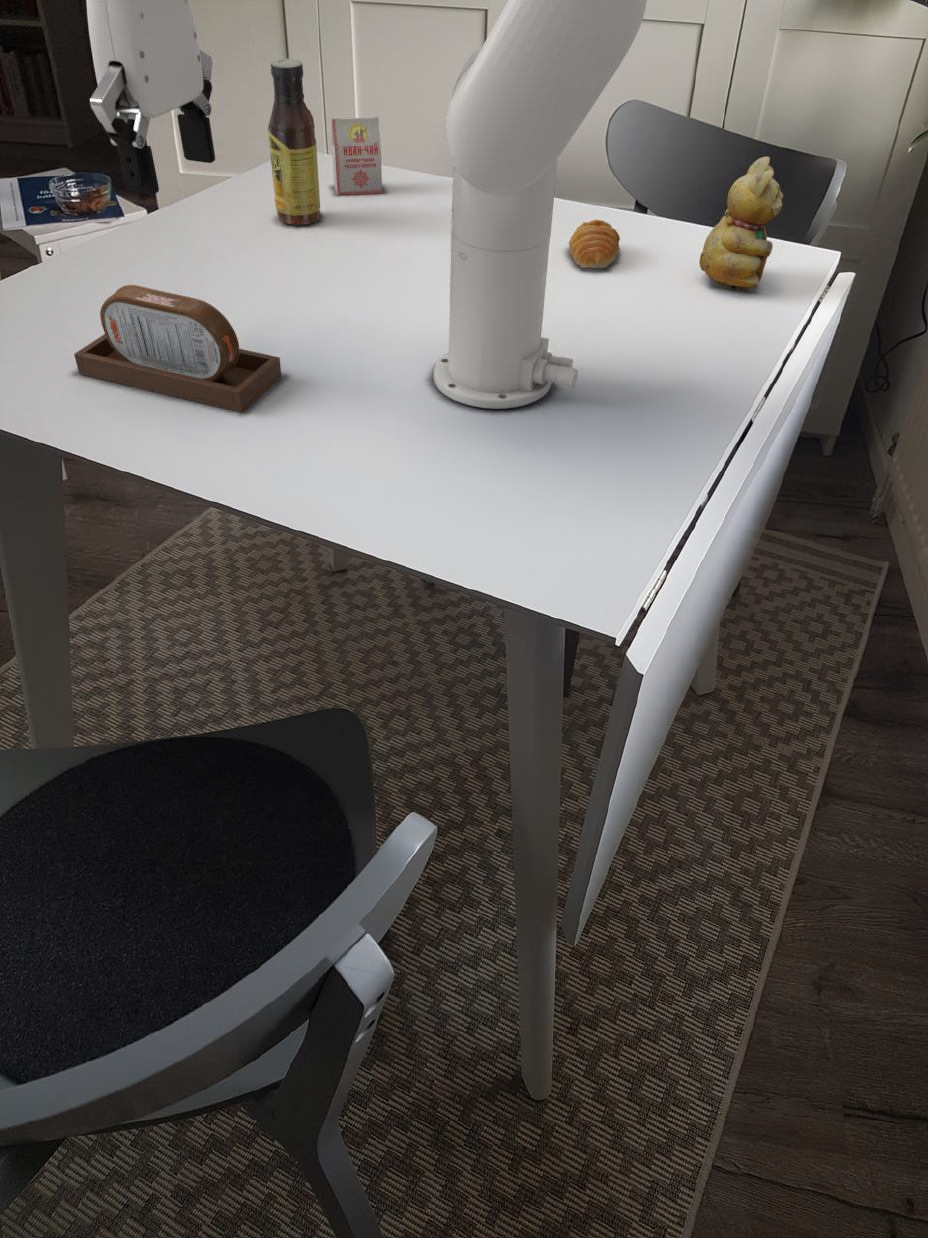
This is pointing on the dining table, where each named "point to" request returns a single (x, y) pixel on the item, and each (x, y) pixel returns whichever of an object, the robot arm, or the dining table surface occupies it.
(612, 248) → the pastry
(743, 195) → the decorative figurine
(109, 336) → the tin
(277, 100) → the sauce bottle
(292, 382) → the dining table surface
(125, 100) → the robot arm
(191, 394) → the tray
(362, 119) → the tea box
